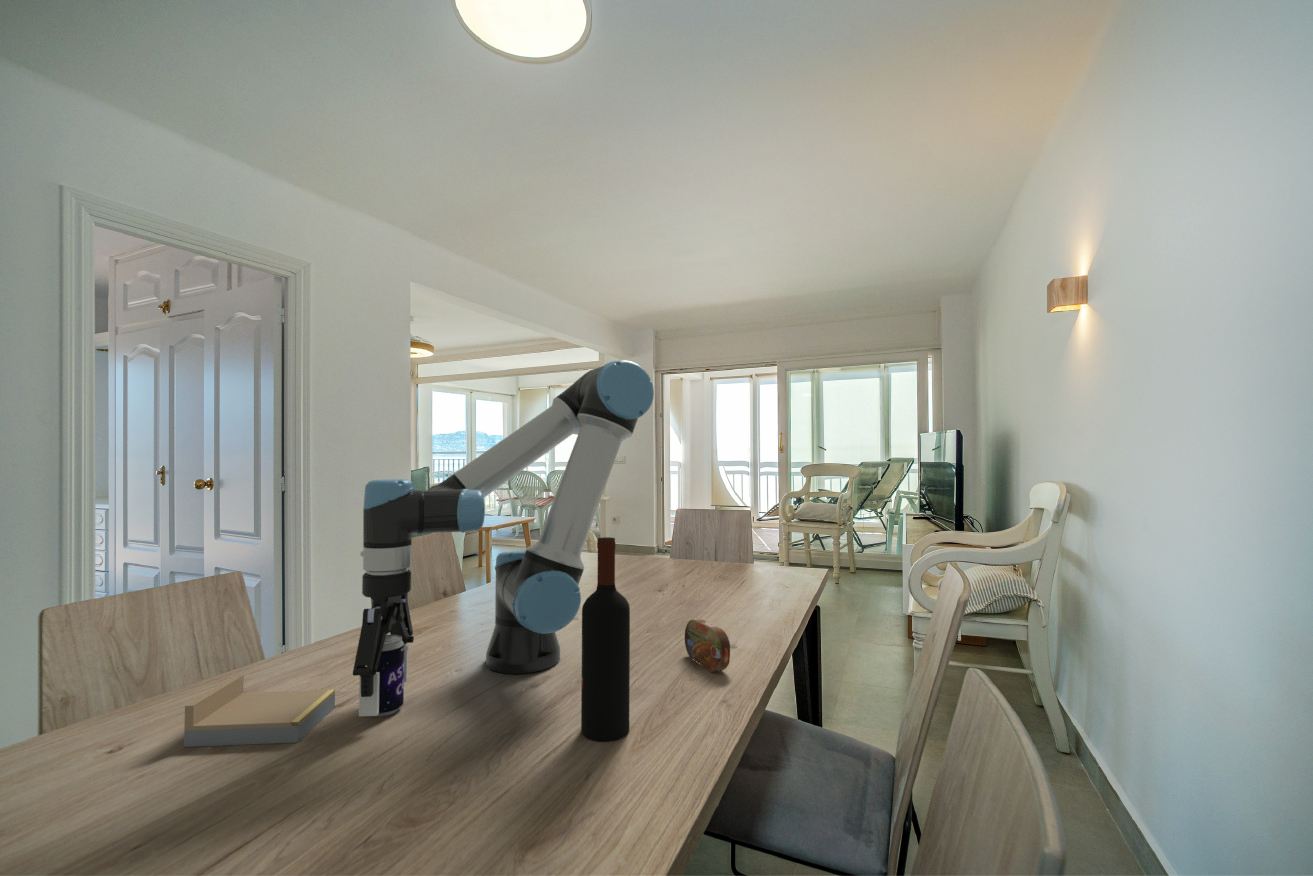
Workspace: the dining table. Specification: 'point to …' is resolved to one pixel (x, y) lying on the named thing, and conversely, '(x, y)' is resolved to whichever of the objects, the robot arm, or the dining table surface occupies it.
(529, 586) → the robot arm
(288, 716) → the dock
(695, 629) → the tin
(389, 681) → the beverage can
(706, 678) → the dining table surface
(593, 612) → the wine bottle
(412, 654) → the dining table surface
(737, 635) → the dining table surface
